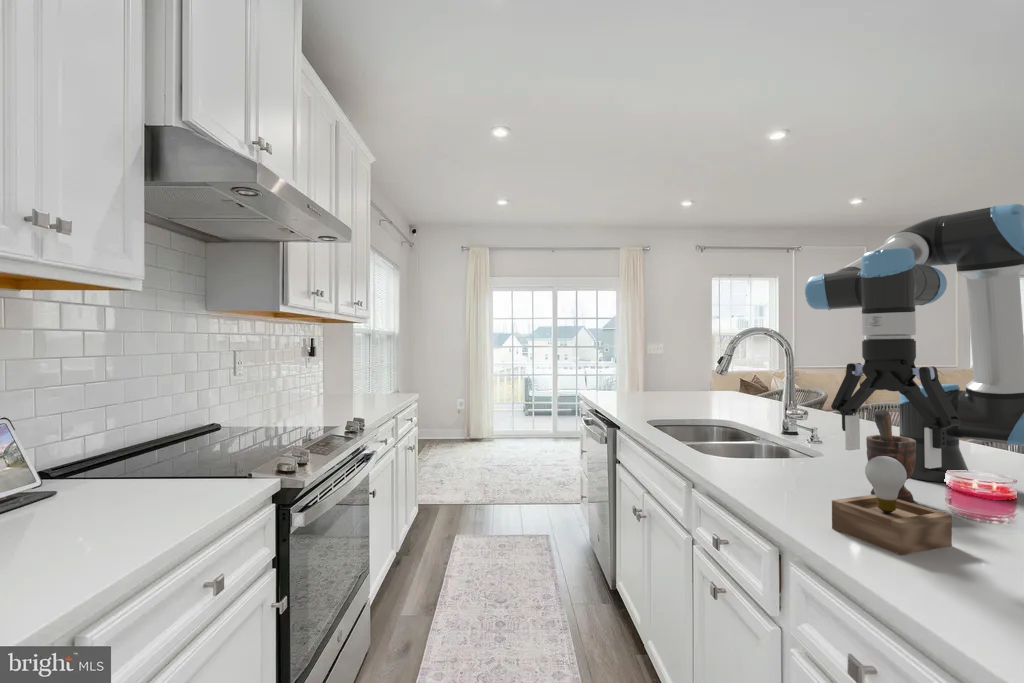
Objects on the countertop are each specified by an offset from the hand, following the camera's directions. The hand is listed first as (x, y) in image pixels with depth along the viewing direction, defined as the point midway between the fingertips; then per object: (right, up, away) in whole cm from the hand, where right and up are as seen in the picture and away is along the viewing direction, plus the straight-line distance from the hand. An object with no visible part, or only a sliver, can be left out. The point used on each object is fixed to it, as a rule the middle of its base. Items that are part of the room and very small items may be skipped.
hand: (889, 457), depth 86 cm
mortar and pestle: (+16, -14, +19) cm, 29 cm away
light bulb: (0, -10, 0) cm, 10 cm away
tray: (0, -14, 0) cm, 14 cm away
